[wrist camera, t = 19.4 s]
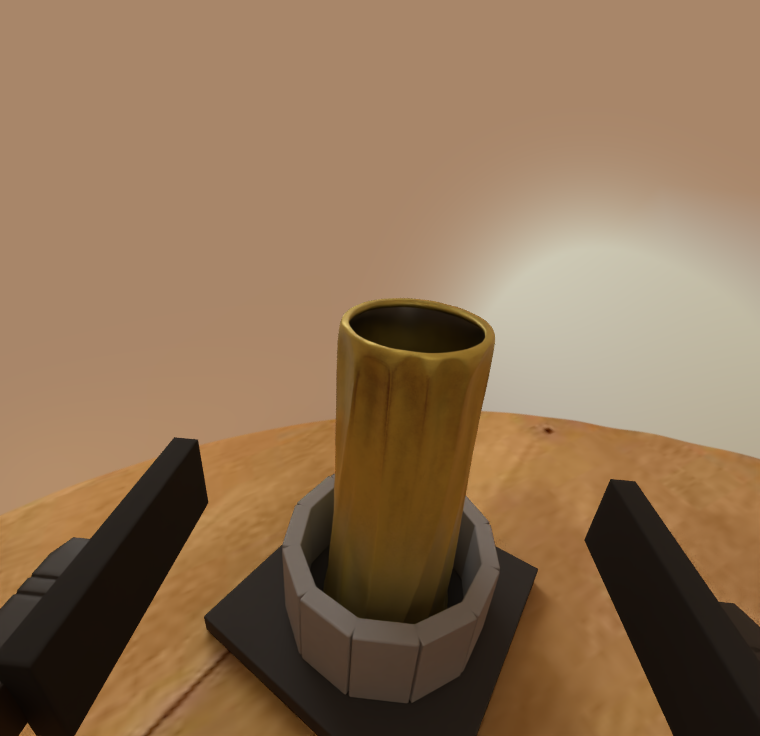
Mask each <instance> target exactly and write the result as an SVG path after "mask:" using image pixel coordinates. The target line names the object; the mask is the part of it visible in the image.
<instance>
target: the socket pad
mask: <svg viewBox="0 0 760 736" xmlns="http://www.w3.org/2000/svg"><path fill="white" fill-rule="evenodd" d="M334 482H335V474H333V475H331V477H330V476H328V477H327V478H326V479H325V480H323V481H322V482H321V483H320V484H319V485H318V486H316V487H315V488H314V489H313V490H312V491H310V492H309V493H308V494H307V495H306V496H305V497H303V498H302V499H301V500H300V501H299V502H298V503H297V505H296V506H295V508H294V511H293V514H292V517H291V520H290V523H289V527H288V530H287V533H286V536H285V539H284V542H283V544H282V545H281V546H280V547H279V548H278V549H277V550H276V551H275V552H274V553H273V554H272V555H270V556H269V557H268V558H267V559H266V560H265V561H264V562H263V563H262V564H261V565H260V566H258V567H257V568H256V569H255V570H254V571H253V572H252V573H251V574H250V575H249V576H248V577H246V578H245V579H244V580H243V581H242V582H241V583H240V584H239V585H238V586H237V587H236V588H234V589H233V590H232V591H231V592H230V593H229V594H228V595H227V596H226V597H225V598H224V599H222V600H221V601H220V602H219V603H218V604H217V605H216V606H215V607H214V608H213V609H212V610H210V611H209V612H208V613H207V614H206V615H205V616H204V619H205V624H206V628H207V630H208V631H209V632H210V633H211V634H212V635H213V636H214V637H215V638H216V639H218V640H219V641H220V642H221V643H222V644H223V645H224V646H225V647H226V648H227V649H228V650H229V651H230V652H231V653H232V654H233V655H234V656H235V657H236V658H237V659H239V660H240V661H241V662H242V663H243V664H244V665H245V666H246V667H247V668H248V669H249V670H250V671H251V672H252V673H253V674H254V675H255V676H256V677H257V678H258V679H260V680H261V681H262V682H263V683H264V684H265V685H266V686H267V687H268V688H269V689H270V690H271V691H272V692H273V693H274V694H275V695H276V696H277V697H278V698H279V699H281V700H282V701H283V702H284V703H285V704H286V705H287V706H288V707H289V708H290V709H291V710H292V711H293V712H294V713H295V714H296V715H297V716H298V717H299V718H300V719H301V720H303V721H304V722H305V723H306V724H307V725H308V726H309V727H310V728H311V729H312V730H313V731H314V732H315V733H316V734H317V735H318V736H476V735H477V733H478V730H479V727H480V725H481V722H482V719H483V717H484V714H485V711H486V709H487V706H488V703H489V700H490V698H491V695H492V692H493V690H494V687H495V684H496V682H497V679H498V676H499V674H500V671H501V668H502V666H503V663H504V660H505V657H506V655H507V652H508V649H509V647H510V644H511V641H512V639H513V636H514V633H515V631H516V628H517V625H518V622H519V620H520V617H521V614H522V612H523V609H524V606H525V604H526V601H527V598H528V596H529V593H530V590H531V588H532V585H533V582H534V579H535V577H536V574H537V571H538V569H537V568H535V567H533V566H531V565H530V564H528V563H526V562H524V561H522V560H520V559H518V558H516V557H514V556H513V555H511V554H509V553H507V552H505V551H503V550H501V549H499V548H498V547H496V546H495V543H494V538H493V534H492V529H491V525H489V521H488V520H487V519H486V518H485V517H484V516H483V514H482V513H481V512H480V511H479V510H478V509H477V508H476V506H475V505H474V504H473V503H472V502H471V501H470V500H469V498H468V497H467V496H465V502H464V507H463V513H462V518H461V524H460V530H459V536H458V542H457V548H456V553H455V558H454V564H453V569H452V574H451V578H450V582H449V586H448V590H447V592H448V603H447V609H446V610H444V611H442V612H440V613H438V614H435V615H433V616H431V617H429V618H427V619H425V620H423V621H421V622H419V623H417V624H408V623H399V622H390V621H380V620H371V619H362V618H358V617H356V616H355V615H354V614H352V613H351V612H350V611H348V610H347V609H346V608H344V607H343V606H341V605H340V604H339V603H337V602H336V601H335V600H333V599H332V598H331V597H329V596H328V595H326V594H325V593H324V592H323V589H324V581H325V577H326V572H327V568H328V562H329V550H330V541H331V533H332V524H333V514H334Z"/></svg>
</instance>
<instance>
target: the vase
mask: <svg viewBox="0 0 760 736" xmlns="http://www.w3.org/2000/svg"><path fill="white" fill-rule="evenodd" d="M494 344H495V334H494V331H493V329H492V327H491V326H490V325H489V324H488V323H487V321H485V320H484V319H482V318H481V317H479V316H477V315H475V314H473V313H470V312H468V311H466V310H464V309H461V308H458V307H455V306H451V305H447V304H443V303H439V302H435V301H429V300H420V299H410V298H396V299H394V298H393V299H379V300H373V301H368V302H364V303H362V304H359V305H357V306H355V307H353V308H351V309H350V310H349V311H347V312H346V313H345V314H344V316H343V317H342V319H341V322H340V328H339V334H338V350H337V389H336V390H337V391H336V393H337V394H336V395H337V396H336V400H337V401H336V438H335V446H336V456H335V482H334V514H333V524H332V533H331V541H330V550H329V562H328V568H327V572H326V577H325V581H324V589H323V592H324V593H325V594H326V595H328V596H329V597H331V598H332V599H333V600H335V601H336V602H337V603H339V604H340V605H341V606H343V607H344V608H346V609H347V610H348V611H350V612H351V613H352V614H354V615H355V616H356V617H358V618H362V619H371V620H380V621H390V622H399V623H408V624H417V623H419V622H421V621H423V620H425V619H427V618H429V617H431V616H433V615H435V614H438V613H440V612H442V611H444V610H446V609H447V603H448V592H447V590H448V586H449V582H450V578H451V574H452V569H453V564H454V558H455V553H456V548H457V542H458V536H459V530H460V524H461V518H462V513H463V507H464V502H465V496H466V490H467V484H468V478H469V472H470V466H471V461H472V455H473V450H474V445H475V440H476V435H477V429H478V424H479V419H480V414H481V409H482V404H483V400H484V396H485V392H486V387H487V382H488V377H489V372H490V367H491V362H492V357H493V351H494Z"/></svg>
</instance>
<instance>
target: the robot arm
mask: <svg viewBox="0 0 760 736" xmlns="http://www.w3.org/2000/svg"><path fill="white" fill-rule="evenodd" d="M207 504H208V497H207V491H206V485H205V479H204V473H203V467H202V461H201V455H200V449H199V444H198V440H195V439H185V438H175V437H174V439H173V440H172V441H171V442H170V443H169V445H168V446H167V447H166V448H165V450H164V451H163V452H162V453H161V455H159V457H158V458H157V459H156V460H155V461H154V463H153V464H152V465H151V466H150V468H149V469H148V470H147V471H146V472H145V474H144V475H143V476H142V477H141V478H140V480H139V481H138V482H137V483H136V484H135V486H134V487H133V488H132V489H131V490H130V492H129V493H128V494H127V495H126V497H125V498H124V499H123V500H122V501H121V503H120V504H119V505H118V506H117V507H116V509H115V510H114V511H113V512H112V513H111V515H110V516H109V517H108V518H107V519H106V521H105V522H104V523H103V524H102V526H101V527H100V528H99V529H98V530H97V532H96V533H95V534H94V535H93V536H92V538H91V539H85V538H75V537H73V538H72V539H70V540H69V541H67V542H66V543H64V544H63V545H62V546H60V547H59V548H57V549H56V550H55V551H53V552H52V553H50V554H49V555H48V557H47V558H46V559H45V560H44V561H43V562H42V563H41V564H40V565H39V567H38V568H37V569H36V570H35V571H34V572H33V573H32V576H31V577H30V578H28V579H27V580H26V581H25V582H24V583H23V584H22V585H21V587H20V588H19V589H18V590H17V593H16V594H15V595H12V597H11V598H10V599H9V600H8V601H7V602H6V603H5V604H4V605H3V607H2V608H1V609H0V736H19V734H20V733H21V731H22V730H23V728H24V727H25V725H26V724H27V722H28V724H29V725H30V727H31V728H32V730H33V731H34V733H35V734H36V736H75V734H76V732H77V730H78V729H79V727H80V725H81V723H82V722H83V720H84V718H85V716H86V715H87V713H88V711H89V710H90V708H91V706H92V704H93V703H94V701H95V699H96V697H97V696H98V694H99V692H100V690H101V689H102V687H103V685H104V683H105V682H106V680H107V678H108V676H109V675H110V673H111V671H112V670H113V668H114V666H115V664H116V663H117V661H118V659H119V657H120V656H121V654H122V652H123V650H124V649H125V647H126V645H127V643H128V642H129V640H130V638H131V636H132V635H133V633H134V631H135V630H136V628H137V626H138V624H139V623H140V621H141V619H142V617H143V616H144V614H145V612H146V610H147V609H148V607H149V605H150V603H151V602H152V600H153V598H154V596H155V595H156V593H157V591H158V590H159V588H160V586H161V584H162V583H163V581H164V579H165V577H166V576H167V574H168V572H169V570H170V569H171V567H172V565H173V563H174V562H175V560H176V558H177V556H178V555H179V553H180V551H181V550H182V548H183V546H184V544H185V543H186V541H187V539H188V537H189V536H190V534H191V532H192V530H193V529H194V527H195V525H196V523H197V522H198V520H199V518H200V516H201V515H202V513H203V511H204V510H205V508H206V506H207ZM585 542H586V545H587V547H588V549H589V551H590V553H591V556H592V558H593V560H594V562H595V564H596V567H597V569H598V571H599V573H600V575H601V578H602V580H603V582H604V584H605V586H606V589H607V591H608V593H609V595H610V597H611V600H612V602H613V604H614V606H615V608H616V611H617V613H618V615H619V617H620V619H621V622H622V624H623V626H624V628H625V630H626V633H627V635H628V637H629V639H630V641H631V644H632V646H633V648H634V650H635V652H636V655H637V657H638V659H639V661H640V663H641V666H642V668H643V670H644V672H645V674H646V677H647V679H648V681H649V683H650V685H651V687H652V690H653V692H654V694H655V696H656V698H657V701H658V703H659V705H660V707H661V709H662V712H663V714H664V716H665V718H666V720H667V723H668V725H669V727H670V729H671V731H672V734H673V736H760V627H759V626H758V625H757V624H756V623H755V622H754V621H753V620H752V619H751V618H750V617H748V616H747V615H746V614H745V613H744V612H743V611H742V610H741V609H740V608H739V607H737V606H736V605H735V604H734V603H725V602H718V600H717V599H716V597H715V596H714V595H713V593H712V592H711V590H710V589H709V587H708V586H707V584H706V583H705V582H704V580H703V579H702V577H701V576H700V574H699V573H698V571H697V570H696V569H695V567H694V566H693V564H692V563H691V561H690V560H689V558H688V557H687V556H686V554H685V553H684V551H683V550H682V548H681V547H680V545H679V544H678V543H677V541H676V540H675V538H674V537H673V535H672V534H671V532H670V531H669V530H668V528H667V527H666V525H665V524H664V522H663V521H662V519H661V518H660V517H659V515H658V514H657V512H656V511H655V509H654V508H653V506H652V505H651V504H650V502H649V501H648V499H647V498H646V496H645V495H644V493H643V492H642V491H641V489H640V488H639V486H638V485H637V483H636V482H635V481H625V480H614V479H610V482H609V484H608V486H607V489H606V491H605V493H604V496H603V498H602V500H601V503H600V505H599V507H598V510H597V512H596V514H595V517H594V519H593V521H592V524H591V526H590V528H589V530H588V533H587V535H586V537H585Z"/></svg>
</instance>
